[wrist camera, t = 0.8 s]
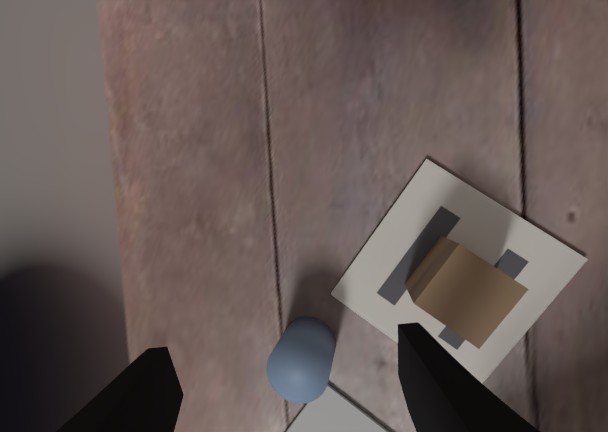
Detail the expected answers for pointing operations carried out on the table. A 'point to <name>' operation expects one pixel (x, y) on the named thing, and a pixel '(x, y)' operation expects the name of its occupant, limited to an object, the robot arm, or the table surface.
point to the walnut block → (463, 291)
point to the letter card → (470, 234)
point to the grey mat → (333, 416)
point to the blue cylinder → (302, 361)
